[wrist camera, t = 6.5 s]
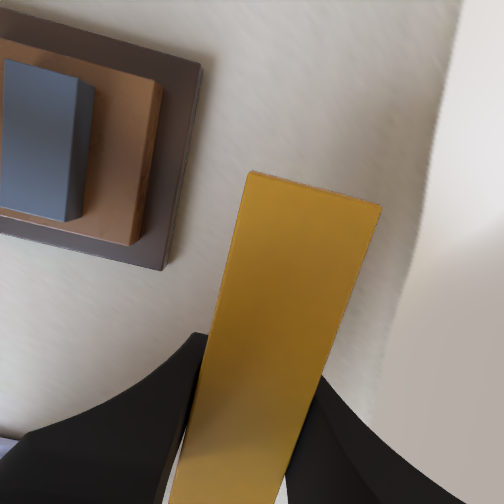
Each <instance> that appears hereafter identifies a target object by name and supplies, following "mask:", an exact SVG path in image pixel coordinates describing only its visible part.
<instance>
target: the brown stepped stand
mask: <svg viewBox="0 0 504 504" xmlns="http://www.w3.org/2000/svg"><path fill="white" fill-rule="evenodd" d="M202 74H203V68H202V66H201V64H200V63H197V62H194V61H190V60H187V59H183V58H180V57H176V56H172V55H169V54H165V53H162V52H158V51H155V50H151V49H148V48H144V47H141V46H137V45H134V44H130V43H126V42H123V41H119V40H116V39H112V38H109V37H105V36H102V35H98V34H95V33H91V32H88V31H84V30H80V29H77V28H73V27H70V26H66V25H63V24H59V23H56V22H52V21H49V20H45V19H42V18H38V17H34V16H31V15H27V14H24V13H20V12H17V11H13V10H10V9H6V8H3V7H0V233H1V234H5V235H9V236H13V237H18V238H22V239H26V240H30V241H35V242H39V243H43V244H47V245H52V246H56V247H60V248H64V249H69V250H73V251H77V252H81V253H86V254H90V255H94V256H99V257H103V258H107V259H111V260H116V261H120V262H124V263H128V264H133V265H137V266H141V267H145V268H150V269H154V270H158V271H163V269H164V268H165V267H166V266H167V260H168V255H169V250H170V244H171V239H172V234H173V228H174V223H175V218H176V212H177V207H178V202H179V196H180V191H181V186H182V180H183V175H184V170H185V164H186V159H187V154H188V148H189V143H190V138H191V132H192V127H193V122H194V116H195V111H196V106H197V100H198V95H199V90H200V84H201V79H202Z"/></svg>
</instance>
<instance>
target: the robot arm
mask: <svg viewBox="0 0 504 504" xmlns="http://www.w3.org/2000/svg"><path fill="white" fill-rule="evenodd" d="M208 336H209V335H205V334H201V333H196V332H194V333H192V334H191V335H190V337H189V338H188V339H187V341H186V342H185V343H184V344H183V345H182V346H181V347H180V348H179V349H178V350H177V351H176V352H175V353H174V354H173V355H172V356H171V357H170V358H169V359H168V360H167V361H165V362H164V363H163V364H162V365H161V366H159V367H158V368H157V369H156V370H154V371H153V372H152V373H151V374H149V375H148V376H147V377H145V378H144V379H142V380H141V381H140V382H138V383H137V384H135V385H134V386H132V387H130V388H129V389H127V390H126V391H124V392H122V393H120V394H119V395H117V396H115V397H114V398H112V399H110V400H108V401H106V402H104V403H102V404H100V405H98V406H96V407H94V408H92V409H90V410H87V411H85V412H83V413H81V414H78V415H76V416H73V417H71V418H68V419H66V420H63V421H60V422H57V423H54V424H52V425H49V426H46V427H43V428H40V429H37V430H34V431H31V432H28V433H27V434H26V435H25V436H24V437H23V438H22V439H21V440H20V441H17V440H11V439H6V438H1V437H0V504H162V501H163V497H164V493H165V489H166V486H167V482H168V479H169V475H170V472H171V469H172V466H173V463H174V460H175V457H176V454H177V452H178V449H179V446H180V443H181V440H182V437H183V435H184V432H185V429H186V426H187V423H188V419H189V415H190V411H191V407H192V402H193V398H194V394H195V390H196V386H197V382H198V378H199V373H200V369H201V365H202V361H203V357H204V353H205V349H206V344H207V340H208ZM285 479H286V487H287V496H288V504H466V503H464V502H463V501H461V500H459V499H458V498H456V497H455V496H453V495H452V494H450V493H449V492H447V491H446V490H445V489H443V488H442V487H440V486H439V485H437V484H436V483H435V482H433V481H432V480H431V479H429V478H428V477H426V476H425V475H424V474H423V473H421V472H420V471H419V470H417V469H416V468H414V467H413V466H412V465H411V464H409V463H408V462H407V461H406V460H405V459H403V458H402V457H401V456H400V455H398V454H397V453H396V452H395V451H394V450H392V449H391V448H390V447H389V446H388V445H387V444H386V443H385V442H383V441H382V440H381V439H380V438H379V437H378V436H377V435H376V434H375V433H374V432H373V431H372V430H371V429H370V428H369V427H367V426H366V425H365V424H364V423H363V422H362V421H361V419H360V418H359V417H358V416H357V415H356V414H355V413H354V412H353V411H352V410H351V409H350V408H349V407H348V405H347V404H346V403H345V402H344V401H343V400H342V399H341V397H340V396H339V395H338V394H337V393H336V392H335V390H334V389H333V388H332V387H331V385H330V384H329V383H328V382H327V381H326V379H325V378H324V377H323V375H321V377H320V380H319V383H318V385H317V388H316V391H315V394H314V396H313V399H312V402H311V405H310V407H309V410H308V413H307V415H306V418H305V421H304V424H303V426H302V429H301V432H300V435H299V437H298V440H297V443H296V445H295V448H294V451H293V454H292V456H291V459H290V462H289V465H288V467H287V470H286V473H285Z"/></svg>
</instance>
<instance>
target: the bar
mask: <svg viewBox="0 0 504 504" xmlns="http://www.w3.org/2000/svg"><path fill="white" fill-rule="evenodd" d="M381 211H382V207H381V206H380V205H378V204H375V203H371V202H368V201H364V200H361V199H358V198H354V197H351V196H348V195H344V194H340V193H337V192H333V191H329V190H325V189H321V188H318V187H314V186H310V185H306V184H302V183H298V182H295V181H291V180H287V179H283V178H279V177H276V176H272V175H268V174H264V173H260V172H256V171H250V172H249V173H248V175H247V179H246V183H245V187H244V191H243V195H242V200H241V204H240V208H239V212H238V216H237V220H236V224H235V229H234V233H233V237H232V241H231V245H230V249H229V253H228V258H227V262H226V266H225V270H224V274H223V278H222V282H221V286H220V291H219V295H218V299H217V303H216V307H215V311H214V315H213V320H212V324H211V328H210V332H209V336H208V340H207V344H206V349H205V353H204V357H203V361H202V365H201V369H200V373H199V378H198V382H197V386H196V390H195V394H194V398H193V402H192V407H191V411H190V415H189V419H188V423H187V427H186V431H185V436H184V440H183V444H182V448H181V452H180V456H179V460H178V464H177V469H176V473H175V477H174V481H173V485H172V489H171V493H170V498H169V502H168V504H274V503H275V500H276V497H277V495H278V492H279V489H280V486H281V484H282V481H283V478H284V475H285V473H286V470H287V467H288V465H289V462H290V459H291V456H292V454H293V451H294V448H295V445H296V443H297V440H298V437H299V435H300V432H301V429H302V426H303V424H304V421H305V418H306V415H307V413H308V410H309V407H310V405H311V402H312V399H313V396H314V394H315V391H316V388H317V385H318V383H319V380H320V377H321V375H322V372H323V369H324V366H325V364H326V361H327V358H328V355H329V353H330V350H331V347H332V345H333V342H334V339H335V336H336V334H337V331H338V328H339V325H340V323H341V320H342V317H343V315H344V312H345V309H346V306H347V304H348V301H349V298H350V295H351V293H352V290H353V287H354V285H355V282H356V279H357V276H358V274H359V271H360V268H361V265H362V263H363V260H364V257H365V255H366V252H367V249H368V246H369V244H370V241H371V238H372V235H373V233H374V230H375V227H376V225H377V222H378V219H379V216H380V214H381Z"/></svg>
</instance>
